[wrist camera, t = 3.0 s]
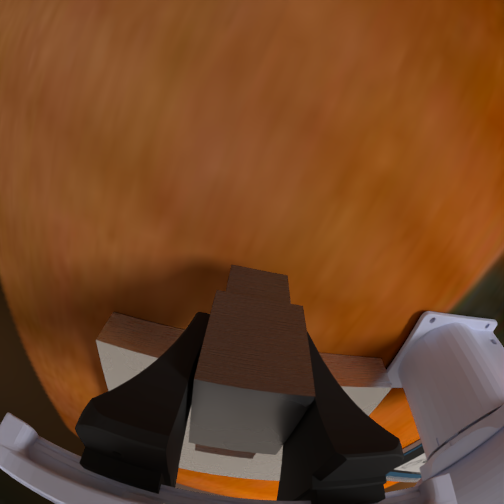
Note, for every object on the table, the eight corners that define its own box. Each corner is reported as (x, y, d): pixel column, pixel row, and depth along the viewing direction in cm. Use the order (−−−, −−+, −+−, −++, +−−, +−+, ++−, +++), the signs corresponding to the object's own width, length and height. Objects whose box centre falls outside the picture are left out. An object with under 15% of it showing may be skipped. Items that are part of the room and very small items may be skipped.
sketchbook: (539, 387, 26) (543, 394, 25) (412, 476, 37) (414, 483, 36) (532, 346, 21) (539, 356, 19) (355, 468, 32) (356, 479, 30)
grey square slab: (381, 358, 20) (391, 387, 17) (300, 460, 29) (301, 481, 26) (113, 312, 19) (95, 339, 16) (137, 434, 28) (130, 454, 25)
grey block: (296, 269, 14) (315, 396, 8) (274, 335, 16) (276, 454, 10) (225, 255, 14) (194, 378, 7) (214, 324, 16) (188, 442, 9)
